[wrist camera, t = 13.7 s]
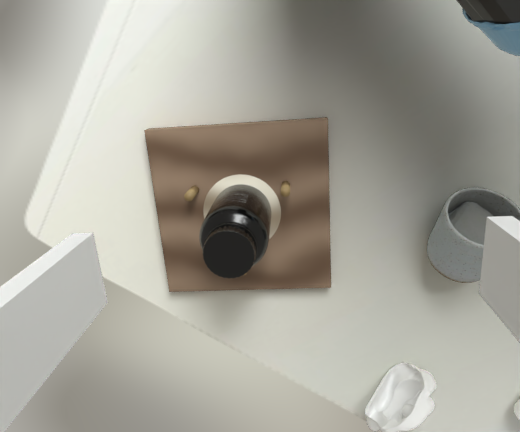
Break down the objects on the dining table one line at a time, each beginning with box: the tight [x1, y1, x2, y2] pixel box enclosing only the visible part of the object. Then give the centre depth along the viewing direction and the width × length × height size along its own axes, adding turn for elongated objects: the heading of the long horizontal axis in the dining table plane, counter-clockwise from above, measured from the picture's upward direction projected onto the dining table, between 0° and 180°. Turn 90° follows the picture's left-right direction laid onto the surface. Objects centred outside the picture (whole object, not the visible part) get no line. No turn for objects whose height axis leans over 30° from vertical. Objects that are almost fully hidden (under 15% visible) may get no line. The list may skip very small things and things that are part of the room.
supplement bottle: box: [199, 184, 272, 279], centre depth 43 cm, size 7×7×12 cm
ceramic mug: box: [427, 187, 520, 283], centre depth 44 cm, size 11×8×8 cm
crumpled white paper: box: [365, 362, 437, 432], centre depth 52 cm, size 10×4×10 cm, turn 131°
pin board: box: [145, 117, 331, 292], centre depth 48 cm, size 20×20×4 cm
